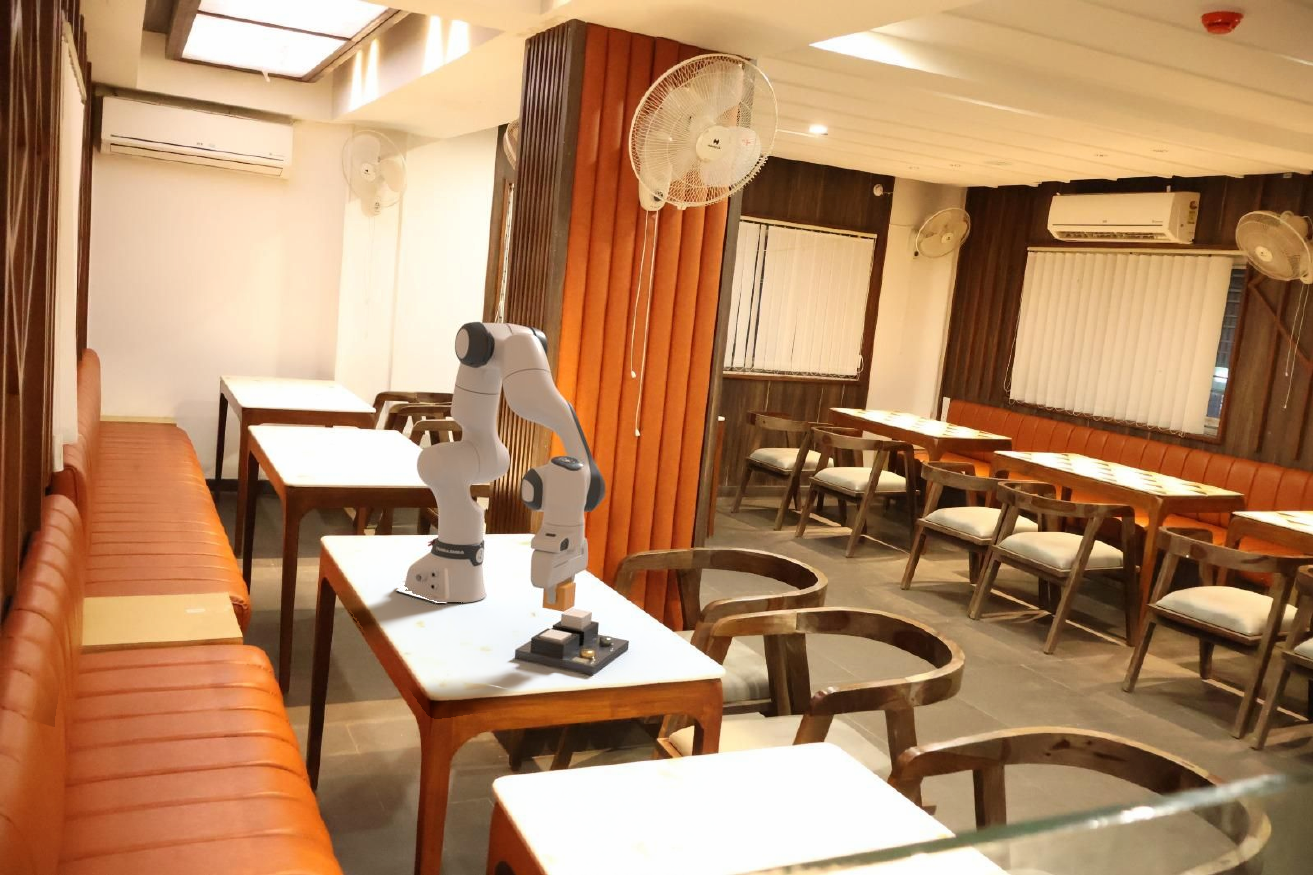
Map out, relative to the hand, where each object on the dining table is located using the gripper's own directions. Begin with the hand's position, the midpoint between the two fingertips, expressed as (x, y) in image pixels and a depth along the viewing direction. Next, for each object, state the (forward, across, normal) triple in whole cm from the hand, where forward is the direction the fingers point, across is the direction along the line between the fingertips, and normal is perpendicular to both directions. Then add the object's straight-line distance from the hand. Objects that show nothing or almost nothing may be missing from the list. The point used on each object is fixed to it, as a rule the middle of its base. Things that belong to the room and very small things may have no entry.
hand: (558, 599), depth 224 cm
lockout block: (+2, 0, 0) cm, 2 cm away
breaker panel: (+13, -5, +2) cm, 14 cm away
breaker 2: (+9, -10, 0) cm, 13 cm away
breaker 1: (+11, 0, 0) cm, 11 cm away
